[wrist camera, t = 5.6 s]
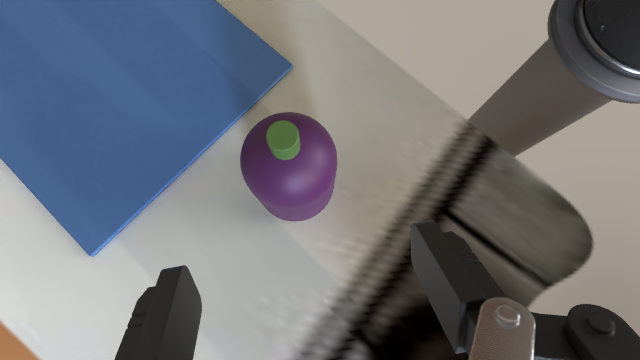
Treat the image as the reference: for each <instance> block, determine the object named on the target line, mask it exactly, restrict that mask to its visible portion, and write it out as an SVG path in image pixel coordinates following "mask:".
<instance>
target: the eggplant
mask: <svg viewBox="0 0 640 360" xmlns="http://www.w3.org/2000/svg"><path fill="white" fill-rule="evenodd" d="M240 162H241V171H242V175H243V177H244V180H245V182H246V184H247V186H248V187H249V189H250V190H251V191H252V193H253V194H254V195H255V196H256V197H257V198H258V200H259V201H260V202H261V203H262V204H263V205H264V207H265V208H266V209H267V210H268V211H269V212H270V213H272V214H273V215H275V216H276V217H278V218H281V219H284V220H288V221H302V220H306V219H309V218H311V217H313V216H315V215H317V214H318V213H319V212H321V211H322V210H323V209H324V208H325V206H326V205H327V204H328V202H329V200H330V198H331V195H332V192H333V187H334V181H335V175H336V169H337V153H336V148H335V145H334V142H333V140H332V138H331V136H330V135H329V133H328V132H327V130H326V129H325V128H324V127H323V126H322V125H321V124H320V123H318V122H317V121H316V120H314V119H312V118H310V117H308V116H306V115H303V114H299V113H293V112H285V113H278V114H274V115H272V116H269V117H267V118H265V119H263V120H262V121H260V122H259V123H258V124H257V125H255V126H254V127H253V129H252V130H251V131H250V132H249V134H248V135H247V137H246V139H245V141H244V144H243V146H242V150H241V158H240Z"/></svg>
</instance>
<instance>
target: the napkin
mask: <svg viewBox="0 0 640 360" xmlns="http://www.w3.org/2000/svg"><path fill="white" fill-rule="evenodd" d="M292 68H293V67H292V64H291V63H289V62H288V61H287V60H286V59H285V58H283V57H282V56H281V55H280V54H279V53H278V52H276V51H275V50H274V49H273V48H272V47H270V46H269V45H268V44H267V43H266V42H264V41H263V40H262V39H261V38H260V37H258V36H257V35H256V34H255V33H254V32H252V31H251V30H250V29H249V28H248V27H246V26H245V25H244V24H243V23H242V22H241V21H239V20H238V19H237V18H236V17H235V16H233V15H232V14H231V13H230V12H229V11H227V10H226V9H225V8H224V7H223V6H221V5H220V4H219V3H218V2H217V1H215V0H0V158H1V159H2V160H3V161H4V162H5V164H6V165H7V166H8V167H9V168H10V169H11V170H12V171H13V172H14V173H15V175H16V176H17V177H18V178H19V179H20V180H21V181H22V182H23V183H24V184H25V186H26V187H27V188H28V189H29V190H30V191H31V192H32V193H33V194H34V195H35V197H36V198H37V199H38V200H39V201H40V202H41V203H42V204H43V205H44V206H45V208H46V209H47V210H48V211H49V212H50V213H51V214H52V215H53V216H54V217H55V219H56V220H57V221H58V222H59V223H60V224H61V225H62V226H63V227H64V228H65V230H66V231H67V232H68V233H69V234H70V235H71V236H72V237H73V238H74V239H75V241H76V242H77V243H78V244H79V245H80V246H81V247H82V248H83V249H84V250H85V252H86V253H87V254H88V255H89V256H94V255H96V254H97V253H98V252H99V251H100V250H101V249H102V248H103V247H104V246H105V245H106V244H107V243H108V242H109V241H110V240H111V239H112V238H113V237H115V236H116V235H117V234H118V233H119V232H120V231H121V230H122V229H123V228H124V227H125V226H126V225H127V224H128V223H129V222H130V221H131V220H132V219H134V218H135V217H136V216H137V215H138V214H139V213H140V212H141V211H142V210H143V209H144V208H145V207H146V206H147V205H148V204H149V203H150V202H151V201H153V200H154V199H155V198H156V197H157V196H158V195H159V194H160V193H161V192H162V191H163V190H164V189H165V188H166V187H167V186H168V185H169V184H170V183H172V182H173V181H174V180H175V179H176V178H177V177H178V176H179V175H180V174H181V173H182V172H183V171H184V170H185V169H186V168H187V167H188V166H189V165H191V164H192V163H193V162H194V161H195V160H196V159H197V158H198V157H199V156H200V155H201V154H202V153H203V152H204V151H205V150H206V149H207V148H208V147H210V146H211V145H212V144H213V143H214V142H215V141H216V140H217V139H218V138H219V137H220V136H221V135H222V134H223V133H224V132H225V131H226V130H227V129H229V128H230V127H231V126H232V125H233V124H234V123H235V122H236V121H237V120H238V119H239V118H240V117H241V116H242V115H243V114H244V113H245V112H247V111H248V110H249V109H250V108H251V107H252V106H253V105H254V104H255V103H256V102H257V101H258V100H259V99H260V98H261V97H262V96H263V95H264V94H266V93H267V92H268V91H269V90H270V89H271V88H272V87H273V86H274V85H275V84H276V83H277V82H278V81H279V80H280V79H281V78H282V77H283V76H285V75H286V74H287V73H288V72H289V71H290V70H291V69H292Z"/></svg>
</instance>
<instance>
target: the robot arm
mask: <svg viewBox="0 0 640 360" xmlns="http://www.w3.org/2000/svg"><path fill="white" fill-rule="evenodd" d="M574 26H575V30H576V33H577V36H578V38H579V40H580V42H581V44H582V45H583V47H584V48H585V49H586V51H587V52H588V53H589V54H590V55H591V56H592V57H593V58H594V59H595V60H596V61H597V62H598V63H599V64H601V65H602V66H604V67H605V68H607V69H609V70H610V71H612V72H614V73H616V74H619V75H621V76H624V77H627V78H631V79H636V80H640V0H577V2H576V5H575V9H574ZM411 259H412V264H413V268H414V271H415V273H416V275H417V277H418V279H419V281H420V283H421V285H422V287H423V289H424V291H425V293H426V295H427V297H428V299H429V301H430V303H431V305H432V307H433V309H434V311H435V313H436V315H437V317H438V319H439V321H440V323H441V325H442V328H443V330H444V332H445V334H446V336H447V338H448V340H449V342H450V344H451V346H452V348H453V350H454V352H455V354H458V353H463V352H467V353H468V355H469V359H468V360H640V337H639V336H638V335H637V334H636V333H635V331H634V330H633V329H632V328H631V327H630V326H629V325H628V324H627V323H626V322H625V321H624V320H623V319H622V318H621V317H619V316H618V315H616V314H615V313H613V312H611V311H610V310H608V309H605V308H603V307H600V306H596V305H591V304H581V305H576V306H574V307H573V308H571V310H570V311H569V313H568V316H558V315H548V314H538V313H533V312H530V311H529V310H528V309H527V308H526V307H525V306H524V305H522V304H521V303H519V302H517V301H515V300H512V299H509V298H507V297H506V296H505V295H504V293H503V292H502V291H501V289H500V288H499V287H498V285H497V284H496V282H495V281H494V280H493V278H492V277H491V276H490V274H489V273H488V272H487V270H486V269H485V268H484V266H483V265H482V263H481V262H479V259H478V258H477V257H476V255H475V254H474V253H472V250H471V249H470V247H469V246H468V244H467V243H466V242H465V240H464V239H462V238H461V237H459V236H458V235H456V234H455V233H453V232H452V231H450V232H445V233H443V232H442V231H441V229H440V228H439V226H438V225H437V223H436V222H435V221H434V220H429V221H424V222H419V223H413V224H412V226H411ZM201 313H202V303H201V297H200V294H199V292H198V290H197V287H196V285H195V283H194V281H193V278H192V276H191V274H190V271H189V269H188V268H187V266H185V265H184V266H178V267H173V268H168V269H163V270H162V271H161V273H160V275H159V278H158V281H157V284H156V286H154V287H149V288H147V290H146V291H145V292H144V293H143V295H142V296H141V297H140V298H139V299H138V301H137V303H136V305H135V308H134V311H133V313H132V318H130V321H129V324H128V326H127V327H128V329H126V331H125V334H124V336H123V339H122V342H121V344H120V347H119V349H118V352H117V355H116V357H115V360H193V356H194V350H195V345H196V340H197V334H198V329H199V324H200V318H201Z"/></svg>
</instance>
